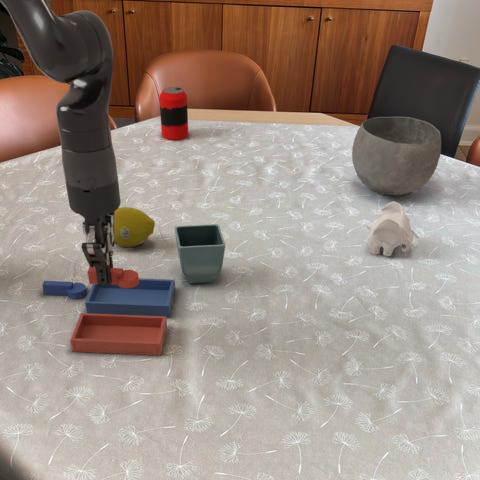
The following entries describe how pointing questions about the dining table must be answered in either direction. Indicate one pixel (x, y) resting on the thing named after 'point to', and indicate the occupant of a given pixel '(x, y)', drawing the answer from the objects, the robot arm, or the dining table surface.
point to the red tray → (119, 334)
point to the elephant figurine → (390, 230)
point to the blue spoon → (65, 289)
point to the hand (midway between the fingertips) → (106, 280)
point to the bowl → (396, 154)
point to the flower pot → (200, 252)
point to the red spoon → (117, 277)
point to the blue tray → (133, 298)
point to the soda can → (174, 113)
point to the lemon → (131, 227)
